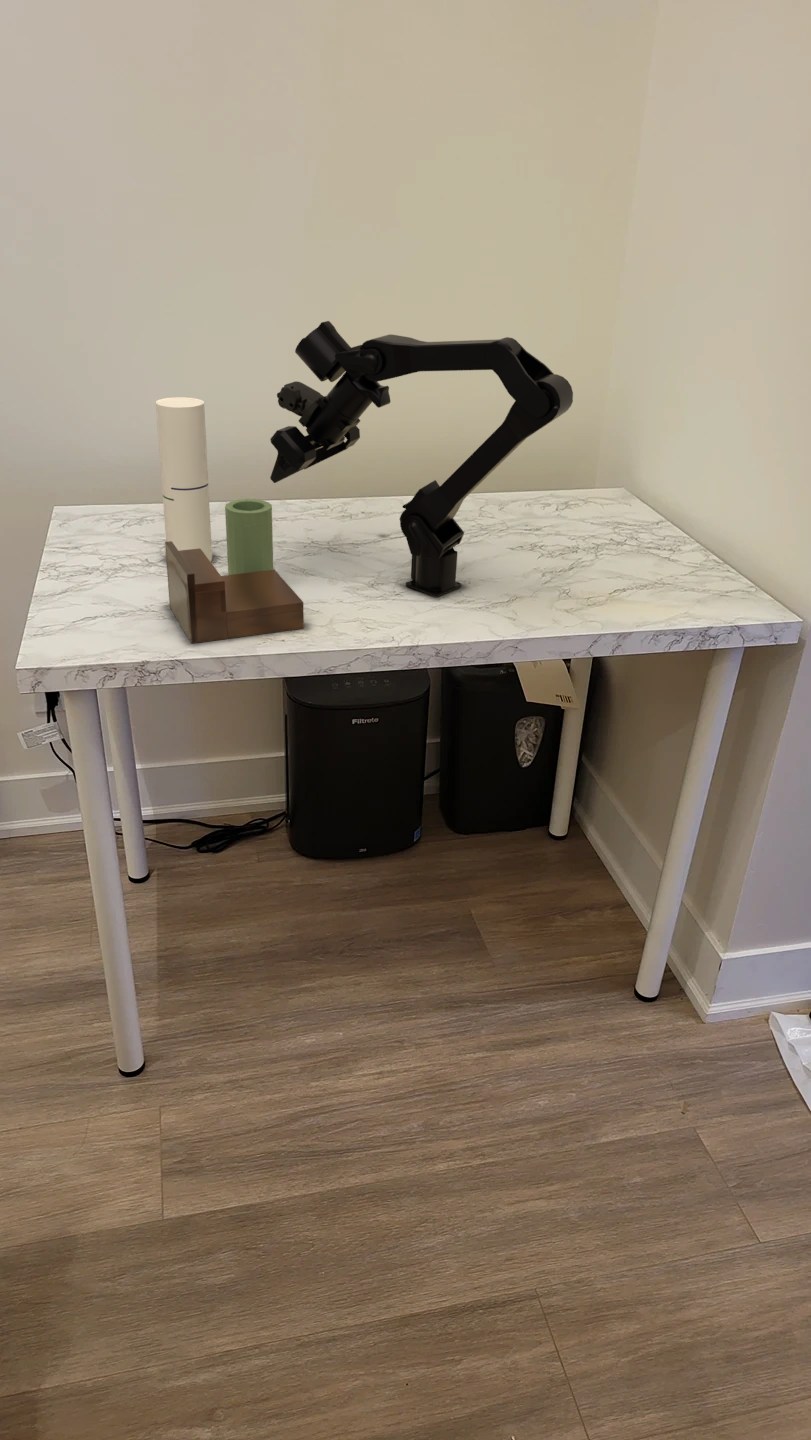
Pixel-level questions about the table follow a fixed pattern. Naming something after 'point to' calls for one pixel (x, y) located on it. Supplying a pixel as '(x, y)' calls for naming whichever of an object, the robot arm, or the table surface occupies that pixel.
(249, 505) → the jar
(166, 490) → the cylindrical container
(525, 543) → the table surface
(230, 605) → the wooden l-shaped bookend
